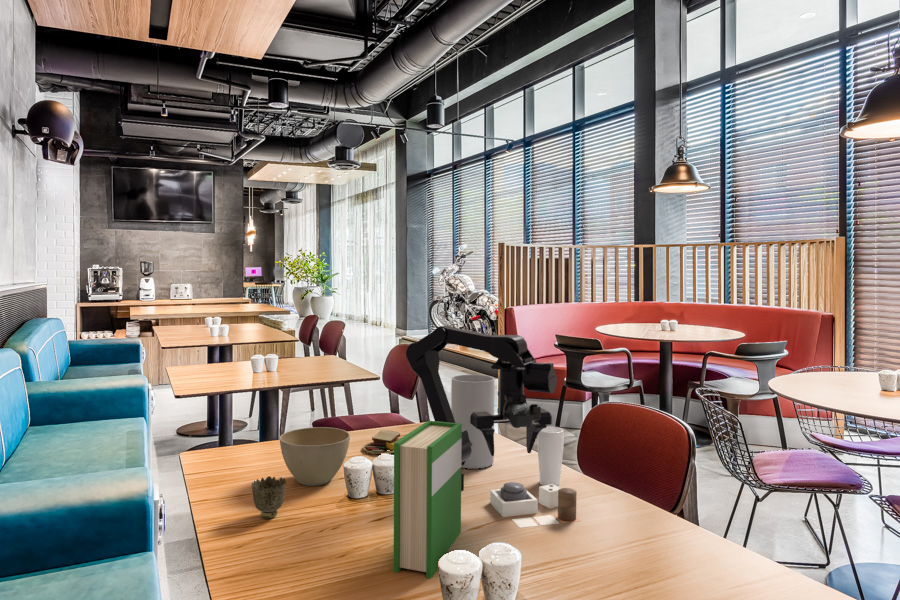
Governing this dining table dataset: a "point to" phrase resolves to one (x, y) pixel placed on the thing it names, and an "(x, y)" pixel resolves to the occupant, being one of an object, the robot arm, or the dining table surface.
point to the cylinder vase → (465, 400)
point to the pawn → (567, 504)
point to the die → (549, 495)
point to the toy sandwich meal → (382, 442)
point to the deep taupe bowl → (314, 453)
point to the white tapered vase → (550, 454)
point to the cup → (268, 495)
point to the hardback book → (427, 495)
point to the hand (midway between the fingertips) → (510, 454)
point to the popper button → (513, 492)
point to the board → (522, 510)
